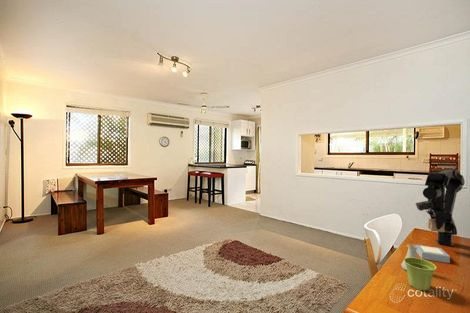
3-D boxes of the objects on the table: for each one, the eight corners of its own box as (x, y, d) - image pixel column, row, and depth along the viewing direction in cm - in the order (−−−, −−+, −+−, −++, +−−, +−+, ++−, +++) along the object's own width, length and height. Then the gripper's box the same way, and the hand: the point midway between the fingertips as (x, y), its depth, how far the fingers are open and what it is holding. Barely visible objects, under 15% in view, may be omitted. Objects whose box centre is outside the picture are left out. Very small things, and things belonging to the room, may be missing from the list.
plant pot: (438, 297, 79) (439, 272, 79) (404, 288, 84) (404, 264, 84) (433, 284, 87) (433, 261, 87) (402, 276, 92) (402, 255, 92)
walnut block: (428, 227, 122) (428, 218, 122) (440, 229, 120) (440, 219, 120) (431, 230, 118) (431, 221, 118) (444, 232, 116) (444, 222, 116)
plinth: (415, 250, 117) (415, 244, 117) (440, 254, 113) (441, 247, 113) (421, 258, 108) (422, 252, 108) (449, 263, 104) (449, 256, 104)
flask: (415, 265, 102) (415, 243, 101) (427, 274, 94) (427, 250, 94) (397, 264, 102) (398, 242, 102) (408, 273, 95) (408, 249, 95)
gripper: (412, 193, 131) (411, 220, 131) (423, 199, 114) (422, 230, 114) (437, 194, 126) (437, 223, 126) (453, 201, 109) (451, 234, 109)
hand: (436, 227), depth 119 cm, fingers closed on walnut block, 5 cm apart
